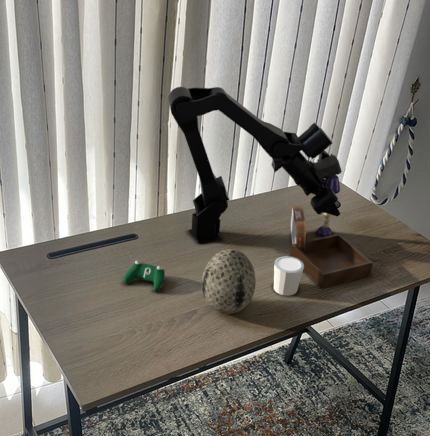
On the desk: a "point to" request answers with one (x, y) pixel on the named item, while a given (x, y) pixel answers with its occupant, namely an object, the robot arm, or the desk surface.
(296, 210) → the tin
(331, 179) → the toy lamp
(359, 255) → the wooden tray
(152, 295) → the desk surface
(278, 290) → the white short cylinder
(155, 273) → the gaming controller
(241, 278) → the decorative egg
